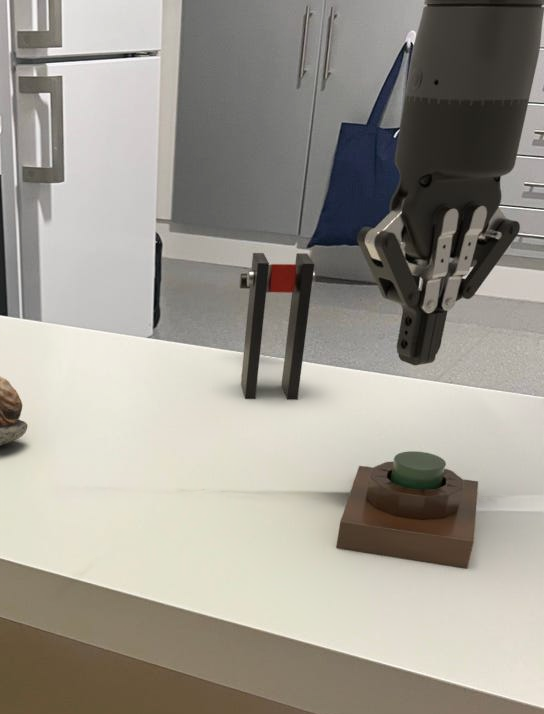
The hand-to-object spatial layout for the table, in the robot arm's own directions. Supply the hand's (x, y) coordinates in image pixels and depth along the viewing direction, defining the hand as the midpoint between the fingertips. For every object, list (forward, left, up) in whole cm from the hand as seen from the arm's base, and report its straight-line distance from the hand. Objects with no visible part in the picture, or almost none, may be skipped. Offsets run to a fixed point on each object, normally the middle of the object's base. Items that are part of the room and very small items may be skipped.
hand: (415, 361), depth 73 cm
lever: (-8, -27, -2) cm, 29 cm away
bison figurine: (+24, -28, -12) cm, 39 cm away
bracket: (-6, -23, -11) cm, 27 cm away
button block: (+1, +4, -11) cm, 12 cm away
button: (+1, +4, -8) cm, 9 cm away
